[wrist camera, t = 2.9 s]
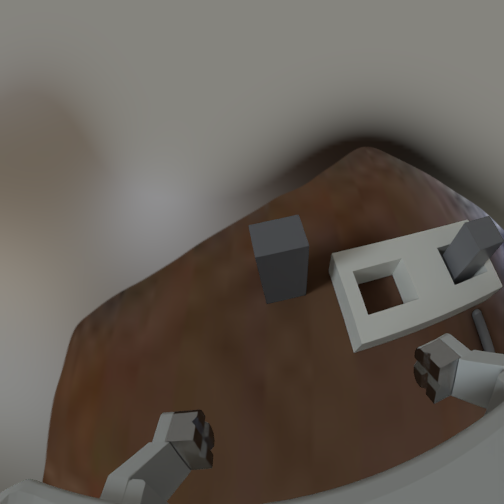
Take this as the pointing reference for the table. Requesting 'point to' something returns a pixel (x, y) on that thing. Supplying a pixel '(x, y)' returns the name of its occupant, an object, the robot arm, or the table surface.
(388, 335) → the power strip
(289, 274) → the plug
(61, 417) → the table surface
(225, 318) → the table surface
